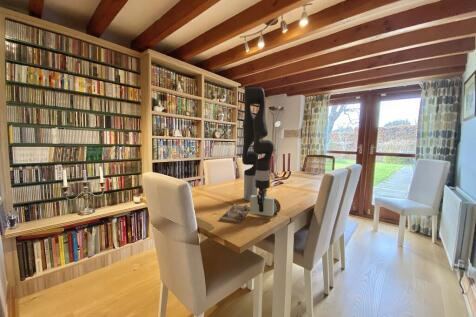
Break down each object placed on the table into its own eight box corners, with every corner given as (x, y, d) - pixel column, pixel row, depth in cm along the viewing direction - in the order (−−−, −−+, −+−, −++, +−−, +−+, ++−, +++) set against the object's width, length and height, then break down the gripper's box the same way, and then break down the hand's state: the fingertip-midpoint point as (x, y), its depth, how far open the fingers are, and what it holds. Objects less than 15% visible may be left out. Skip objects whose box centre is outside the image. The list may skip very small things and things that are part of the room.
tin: (280, 214, 113) (281, 199, 112) (277, 215, 111) (277, 200, 110) (260, 207, 124) (260, 194, 123) (257, 208, 122) (257, 195, 121)
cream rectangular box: (251, 210, 111) (251, 195, 110) (273, 213, 108) (274, 197, 107) (250, 213, 108) (250, 196, 107) (272, 216, 104) (273, 199, 103)
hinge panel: (233, 207, 124) (233, 200, 124) (251, 209, 121) (251, 202, 120) (219, 220, 104) (219, 212, 103) (240, 223, 100) (240, 215, 100)
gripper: (258, 175, 114) (257, 205, 116) (252, 180, 100) (251, 214, 102) (271, 176, 111) (271, 206, 113) (267, 181, 98) (266, 216, 100)
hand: (261, 210), depth 108 cm, fingers closed on cream rectangular box, 3 cm apart
